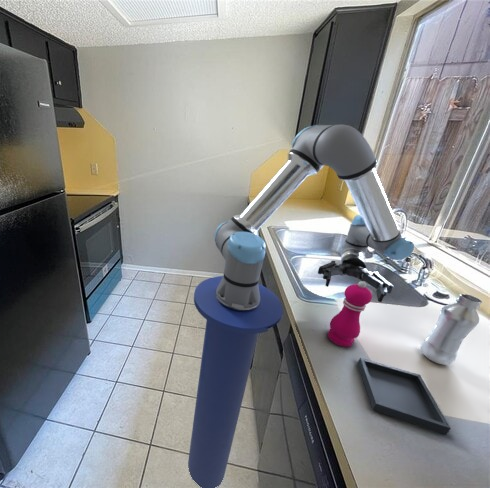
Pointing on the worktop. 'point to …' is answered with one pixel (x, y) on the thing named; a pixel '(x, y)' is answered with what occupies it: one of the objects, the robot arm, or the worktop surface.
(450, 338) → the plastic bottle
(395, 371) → the tray
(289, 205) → the worktop surface
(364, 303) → the pepper mill
